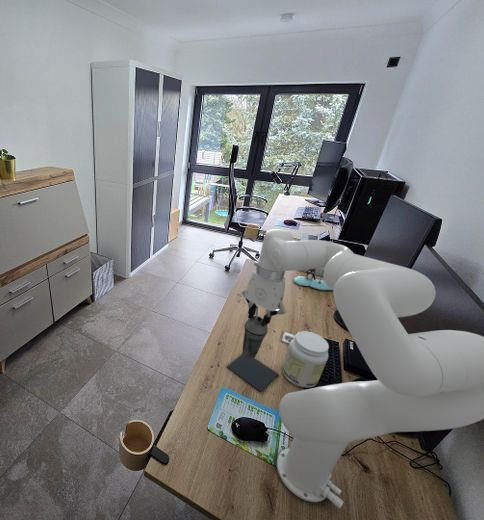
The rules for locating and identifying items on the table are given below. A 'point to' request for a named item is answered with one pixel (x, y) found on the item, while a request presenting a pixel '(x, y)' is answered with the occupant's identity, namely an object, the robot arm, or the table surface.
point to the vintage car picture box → (287, 337)
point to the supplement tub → (305, 359)
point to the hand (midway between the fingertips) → (258, 319)
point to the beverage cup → (253, 335)
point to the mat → (252, 372)
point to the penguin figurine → (312, 281)
